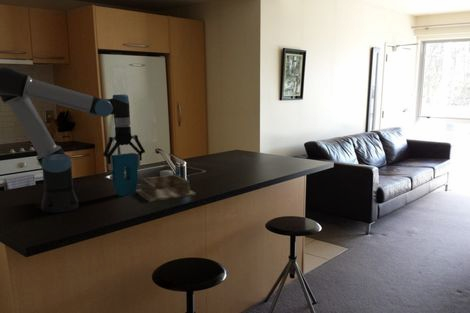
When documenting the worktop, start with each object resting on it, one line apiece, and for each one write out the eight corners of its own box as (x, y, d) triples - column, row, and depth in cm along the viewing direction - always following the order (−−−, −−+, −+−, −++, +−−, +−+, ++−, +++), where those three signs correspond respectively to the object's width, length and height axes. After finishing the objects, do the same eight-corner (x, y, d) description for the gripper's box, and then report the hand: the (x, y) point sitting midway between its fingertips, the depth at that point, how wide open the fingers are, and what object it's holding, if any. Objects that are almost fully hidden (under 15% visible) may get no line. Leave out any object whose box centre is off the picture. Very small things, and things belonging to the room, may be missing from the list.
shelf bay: (149, 201, 186) (148, 187, 185) (135, 192, 205) (134, 178, 204) (196, 194, 198) (195, 181, 197) (178, 186, 217) (178, 173, 216)
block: (117, 196, 196) (115, 156, 193) (112, 195, 200) (110, 155, 196) (139, 192, 204) (137, 153, 201) (134, 190, 208) (132, 152, 204)
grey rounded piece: (163, 187, 214) (162, 173, 213) (158, 185, 220) (158, 170, 219) (175, 186, 218) (174, 171, 216) (170, 183, 224) (170, 169, 222)
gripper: (98, 128, 187) (101, 172, 190) (149, 125, 199) (152, 166, 203) (94, 127, 193) (98, 170, 197) (144, 124, 206) (147, 164, 209)
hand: (125, 168), depth 200 cm, fingers open, 13 cm apart
